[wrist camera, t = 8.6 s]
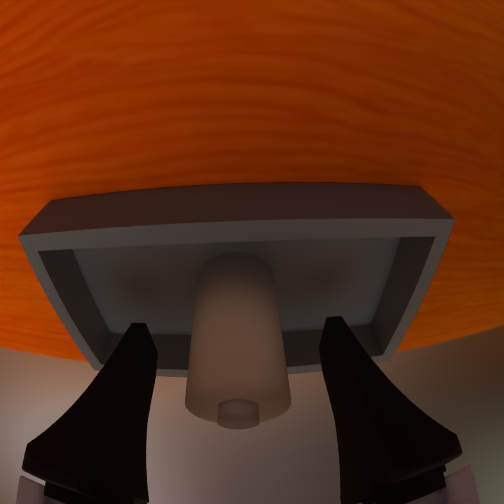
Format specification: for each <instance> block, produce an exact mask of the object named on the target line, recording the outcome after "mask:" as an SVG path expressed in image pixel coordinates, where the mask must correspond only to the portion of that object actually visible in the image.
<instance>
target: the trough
mask: <svg viewBox="0 0 504 504" xmlns="http://www.w3.org/2000/svg"><path fill="white" fill-rule="evenodd" d="M454 221H455V219H454V218H453V217H452V216H451V215H450V214H449V213H448V212H447V211H446V210H445V209H444V208H443V207H442V206H441V205H440V204H439V203H438V202H437V201H436V200H435V199H433V198H432V197H431V196H430V195H429V194H428V193H427V192H426V191H425V190H424V189H423V188H421V187H417V186H402V185H383V184H359V183H243V184H218V185H199V186H184V187H170V188H157V189H145V190H135V191H125V192H115V193H107V194H98V195H90V196H82V197H75V198H68V199H61V200H54V201H50V202H49V203H48V204H47V205H46V206H45V207H44V208H43V209H42V210H41V211H40V212H39V213H38V214H37V215H36V216H35V217H34V218H33V220H32V221H31V222H30V223H29V224H28V225H27V226H26V227H25V228H24V230H23V231H22V232H21V233H20V234H19V235H18V237H19V240H20V242H21V244H22V246H23V249H24V251H25V253H26V255H27V258H28V260H29V262H30V264H31V266H32V268H33V270H34V272H35V274H36V276H37V278H38V280H39V282H40V284H41V286H42V288H43V290H44V292H45V293H46V295H47V297H48V299H49V301H50V302H51V304H52V306H53V308H54V309H55V311H56V313H57V315H58V316H59V318H60V320H61V321H62V323H63V324H64V326H65V328H66V329H67V331H68V332H69V334H70V336H71V337H72V339H73V340H74V342H75V343H76V345H77V346H78V348H79V349H80V351H81V352H82V353H83V355H84V356H85V358H86V359H87V361H88V362H89V363H90V365H91V366H92V367H93V369H94V370H97V371H100V370H101V369H102V367H103V366H104V365H105V363H106V362H107V360H108V359H109V357H110V356H111V354H112V353H113V351H114V350H115V348H116V346H117V345H118V343H119V342H120V340H121V339H122V337H123V335H124V334H125V332H126V331H127V329H128V328H129V326H130V324H131V323H146V325H147V327H148V329H149V332H150V334H151V337H152V339H153V342H154V344H155V346H156V349H157V351H158V359H157V372H156V376H168V377H187V375H188V365H189V355H190V345H191V336H192V327H193V319H194V311H195V303H196V295H197V287H198V280H199V275H200V272H201V270H202V268H203V267H204V265H205V264H206V263H207V262H208V261H210V260H211V259H213V258H214V257H217V256H219V255H222V254H225V253H232V252H241V253H247V254H251V255H254V256H256V257H258V258H260V259H261V260H263V261H264V262H265V263H266V264H267V265H268V266H269V267H270V269H271V270H272V273H273V276H274V282H275V289H276V296H277V303H278V309H279V316H280V323H281V330H282V337H283V344H284V351H285V358H286V366H287V373H288V374H296V373H308V372H317V371H322V367H321V360H320V353H319V344H320V340H321V336H322V332H323V329H324V325H325V321H326V317H333V316H342V317H343V319H344V320H345V322H346V323H347V325H348V326H349V328H350V329H351V331H352V332H353V334H354V335H355V337H356V338H357V339H358V341H359V342H360V344H361V345H362V346H363V348H364V349H365V350H366V352H367V353H368V354H369V356H370V357H371V358H372V360H373V361H374V362H375V363H380V362H385V361H390V360H391V358H392V357H393V355H394V353H395V352H396V350H397V348H398V346H399V345H400V343H401V341H402V339H403V337H404V336H405V334H406V332H407V330H408V328H409V326H410V324H411V322H412V320H413V319H414V317H415V315H416V313H417V311H418V309H419V306H420V304H421V302H422V300H423V298H424V296H425V294H426V292H427V290H428V287H429V285H430V283H431V281H432V278H433V276H434V274H435V271H436V269H437V267H438V264H439V262H440V259H441V257H442V254H443V252H444V249H445V246H446V244H447V241H448V238H449V236H450V233H451V230H452V227H453V224H454Z"/></svg>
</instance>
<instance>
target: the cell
mask: <svg viewBox="0 0 504 504" xmlns="http://www.w3.org/2000/svg"><path fill="white" fill-rule="evenodd" d="M185 405H186V408H187V409H188V410H189V411H190V412H191V413H192V414H194V415H196V416H197V417H199V418H202V419H205V420H208V421H212V422H216V423H218V424H219V425H220V426H222V427H225V428H229V429H247V428H252V427H255V426H257V425H258V424H259V423H260V422H263V421H267V420H270V419H273V418H276V417H278V416H280V415H282V414H283V413H285V412H286V411H287V410H288V409H289V407H290V406H291V396H290V388H289V380H288V373H287V366H286V358H285V351H284V344H283V337H282V330H281V323H280V316H279V309H278V303H277V296H276V289H275V282H274V276H273V273H272V270H271V269H270V267H269V266H268V265H267V264H266V263H265V262H264V261H263V260H261V259H260V258H258V257H256V256H254V255H251V254H247V253H241V252H232V253H225V254H222V255H219V256H217V257H214V258H213V259H211V260H210V261H208V262H207V263H206V264H205V265H204V267H203V268H202V270H201V272H200V275H199V280H198V287H197V295H196V303H195V311H194V319H193V327H192V336H191V345H190V355H189V365H188V375H187V386H186V397H185Z"/></svg>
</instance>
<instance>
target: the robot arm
mask: <svg viewBox="0 0 504 504" xmlns="http://www.w3.org/2000/svg"><path fill="white" fill-rule="evenodd" d="M319 353H320V360H321V367H322V372H323V376H324V380H325V383H326V387H327V391H328V394H329V399H330V403H331V406H332V410H333V414H334V419H335V425H336V432H337V441H338V451H339V464H340V487H341V488H340V489H341V495H340V499H341V504H359V503H362V504H480V500H479V495H478V491H477V487H476V483H475V479H474V475H473V471H472V468H471V465H468V466H466V467H465V468H462V469H460V470H458V471H456V472H454V473H452V474H450V475H448V476H446V477H444V475H443V472H445V471H446V467H445V464H446V463H448V462H450V461H452V460H454V459H455V458H457V457H459V456H460V455H461V454H462V449H461V446H460V443H459V440H458V437H457V435H456V434H455V433H453V432H451V431H450V430H448V429H447V428H445V427H443V426H442V425H440V424H439V423H437V422H436V421H435V420H433V419H432V418H431V417H429V416H428V415H427V414H425V413H424V412H423V411H422V410H420V409H419V408H418V407H417V406H416V405H415V404H413V403H412V402H411V401H410V400H409V399H408V398H407V397H406V396H405V395H404V394H403V393H402V392H401V391H400V390H398V388H397V387H396V386H395V385H394V384H393V383H392V382H391V381H390V380H389V379H388V378H387V377H386V375H385V374H384V373H383V372H382V371H381V370H380V368H379V367H378V366H377V365H376V363H375V362H374V361H373V360H372V358H371V357H370V356H369V354H368V353H367V352H366V350H365V349H364V348H363V346H362V345H361V344H360V342H359V341H358V339H357V338H356V337H355V335H354V334H353V332H352V331H351V329H350V328H349V326H348V325H347V323H346V322H345V320H344V319H343V317H342V316H333V317H326V321H325V325H324V329H323V332H322V336H321V340H320V344H319ZM157 359H158V351H157V349H156V346H155V344H154V342H153V339H152V337H151V334H150V332H149V329H148V327H147V325H146V323H131V324H130V326H129V328H128V329H127V331H126V332H125V334H124V335H123V337H122V339H121V340H120V342H119V343H118V345H117V346H116V348H115V350H114V351H113V353H112V354H111V356H110V357H109V359H108V360H107V362H106V363H105V365H104V366H103V367H102V369H101V370H100V372H99V373H98V374H97V376H96V377H95V379H94V380H93V381H92V383H91V384H90V385H89V386H88V388H87V389H86V390H85V392H84V393H83V394H82V395H81V396H80V397H79V398H78V400H77V401H76V402H75V403H74V404H73V405H72V406H71V407H70V408H69V409H68V410H67V411H66V413H64V414H63V415H62V416H61V417H60V418H59V419H58V420H57V421H56V422H55V423H53V424H52V425H51V426H50V427H49V428H48V429H47V430H45V431H44V432H43V433H42V434H40V435H39V436H37V437H36V438H35V439H34V440H32V441H31V442H29V443H28V444H27V446H26V450H25V455H24V460H23V465H22V469H23V471H25V472H28V473H29V474H31V475H33V476H35V477H37V478H40V479H42V480H44V481H46V483H45V486H44V485H42V484H39V483H37V482H35V481H33V480H30V479H28V478H26V477H24V476H20V479H19V485H18V492H17V499H16V504H147V503H148V502H149V496H148V486H147V470H146V438H147V423H148V416H149V411H150V405H151V399H152V394H153V389H154V384H155V378H156V372H157Z"/></svg>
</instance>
